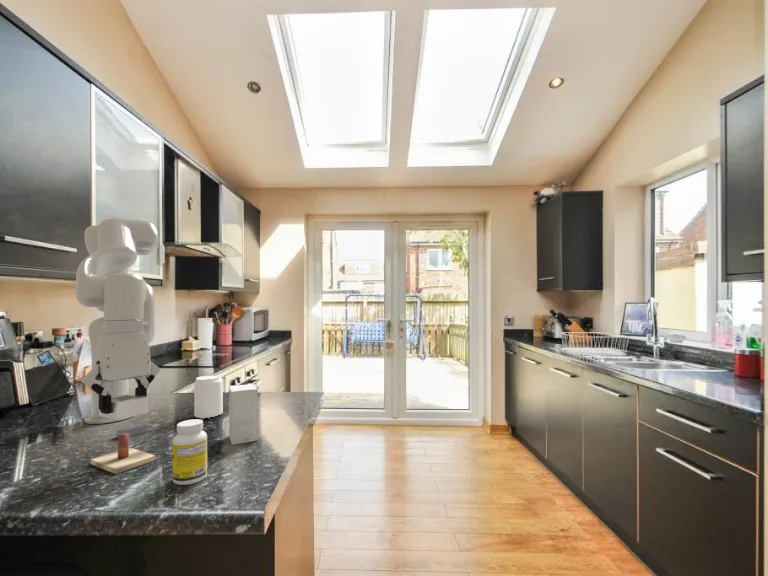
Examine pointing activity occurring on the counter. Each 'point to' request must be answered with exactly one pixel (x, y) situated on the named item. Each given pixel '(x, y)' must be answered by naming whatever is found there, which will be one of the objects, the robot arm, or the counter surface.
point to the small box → (243, 414)
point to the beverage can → (208, 396)
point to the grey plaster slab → (133, 429)
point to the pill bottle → (189, 453)
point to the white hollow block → (127, 406)
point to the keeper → (122, 457)
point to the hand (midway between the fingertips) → (123, 408)
